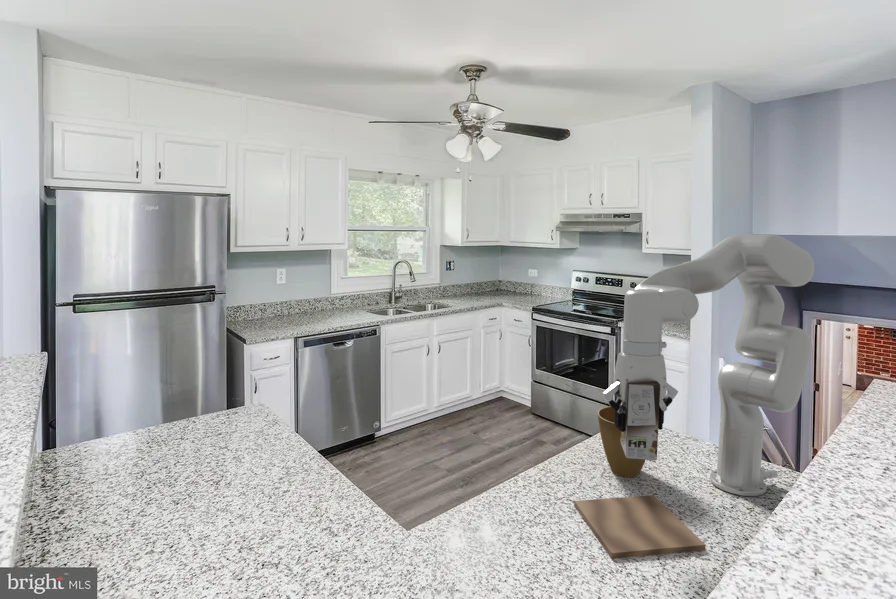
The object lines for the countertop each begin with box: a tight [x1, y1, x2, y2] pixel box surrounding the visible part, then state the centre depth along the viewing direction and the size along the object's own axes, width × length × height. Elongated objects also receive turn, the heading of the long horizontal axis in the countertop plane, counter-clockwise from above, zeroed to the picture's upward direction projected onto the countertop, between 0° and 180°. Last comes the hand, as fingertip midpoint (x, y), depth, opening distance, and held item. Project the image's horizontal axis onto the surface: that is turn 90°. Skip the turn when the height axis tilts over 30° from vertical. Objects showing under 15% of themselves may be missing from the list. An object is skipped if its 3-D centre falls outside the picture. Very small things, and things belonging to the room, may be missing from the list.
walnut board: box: [573, 494, 707, 560], centre depth 111 cm, size 20×20×1 cm
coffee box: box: [621, 381, 661, 461], centre depth 108 cm, size 9×6×16 cm
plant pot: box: [597, 405, 646, 478], centre depth 136 cm, size 15×15×16 cm
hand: (638, 427), depth 108 cm, fingers closed on coffee box, 7 cm apart
